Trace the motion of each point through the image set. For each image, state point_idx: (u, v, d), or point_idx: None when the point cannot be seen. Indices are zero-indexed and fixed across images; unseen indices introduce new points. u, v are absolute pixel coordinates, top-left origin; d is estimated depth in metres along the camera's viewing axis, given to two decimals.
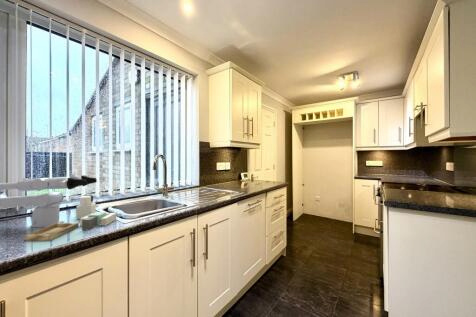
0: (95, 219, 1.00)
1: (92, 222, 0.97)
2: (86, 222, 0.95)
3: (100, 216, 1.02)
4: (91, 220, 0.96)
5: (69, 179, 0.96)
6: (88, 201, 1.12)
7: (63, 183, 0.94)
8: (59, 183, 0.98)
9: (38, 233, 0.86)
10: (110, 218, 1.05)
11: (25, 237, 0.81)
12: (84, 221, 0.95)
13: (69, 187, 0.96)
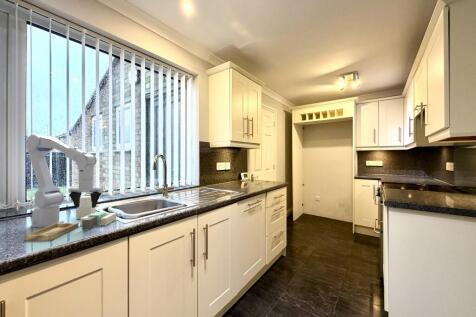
0: (95, 219, 1.00)
1: (92, 222, 0.97)
2: (86, 222, 0.95)
3: (100, 216, 1.02)
4: (91, 220, 0.96)
5: None
6: (88, 201, 1.12)
7: None
8: None
9: (38, 233, 0.86)
10: (110, 218, 1.05)
11: (25, 237, 0.81)
12: (84, 221, 0.95)
13: None
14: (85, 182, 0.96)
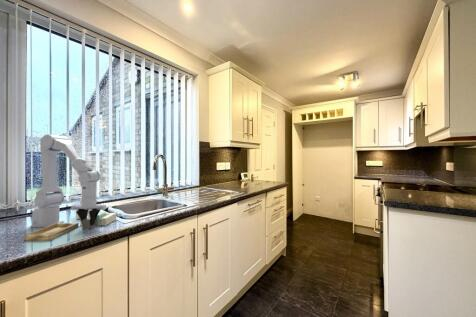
0: None
1: None
2: (86, 222, 0.95)
3: (100, 216, 1.02)
4: None
5: None
6: None
7: None
8: None
9: (38, 233, 0.86)
10: (110, 218, 1.05)
11: (25, 237, 0.81)
12: (84, 221, 0.95)
13: None
14: (88, 199, 0.94)
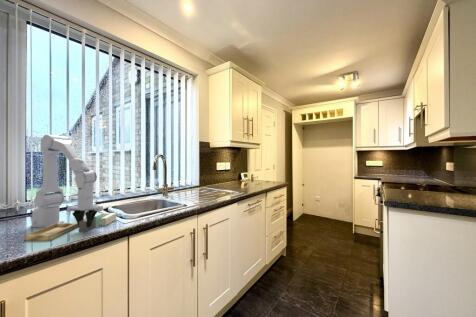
0: None
1: None
2: (83, 223, 0.92)
3: (97, 217, 1.00)
4: None
5: None
6: None
7: None
8: None
9: (38, 233, 0.86)
10: (110, 218, 1.05)
11: (25, 237, 0.81)
12: (81, 222, 0.92)
13: None
14: (84, 200, 0.92)
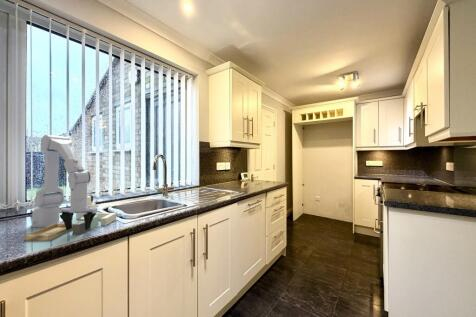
0: None
1: (83, 226, 0.91)
2: (76, 226, 0.88)
3: (92, 220, 0.96)
4: (82, 224, 0.90)
5: None
6: (88, 201, 1.12)
7: None
8: None
9: (38, 233, 0.86)
10: (110, 218, 1.05)
11: (25, 237, 0.81)
12: (74, 226, 0.88)
13: None
14: (78, 202, 0.87)
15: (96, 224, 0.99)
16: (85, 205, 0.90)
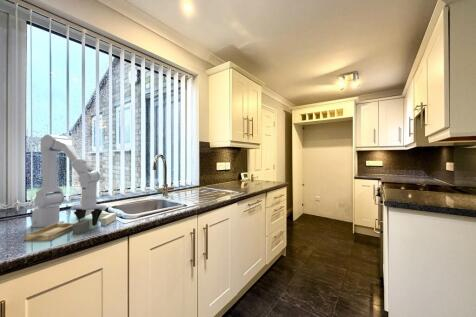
0: (87, 223, 0.93)
1: (83, 226, 0.91)
2: (76, 226, 0.88)
3: None
4: (82, 224, 0.90)
5: None
6: None
7: None
8: None
9: (38, 233, 0.86)
10: (110, 218, 1.05)
11: (25, 237, 0.81)
12: (74, 225, 0.88)
13: None
14: (88, 200, 0.94)
15: None
16: (95, 203, 0.97)
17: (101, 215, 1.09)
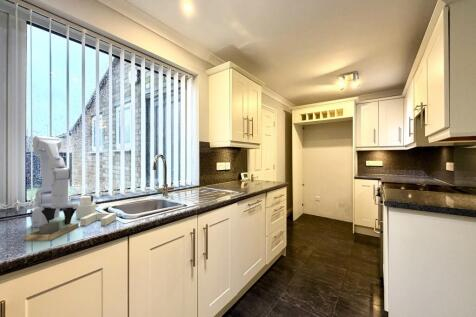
0: (56, 225, 0.89)
1: (52, 228, 0.87)
2: (43, 228, 0.84)
3: (63, 221, 0.91)
4: (50, 226, 0.86)
5: None
6: (88, 201, 1.12)
7: None
8: None
9: (38, 233, 0.86)
10: (110, 218, 1.05)
11: (25, 237, 0.81)
12: (41, 227, 0.84)
13: None
14: (58, 198, 0.90)
15: None
16: (66, 201, 0.93)
17: (101, 215, 1.09)
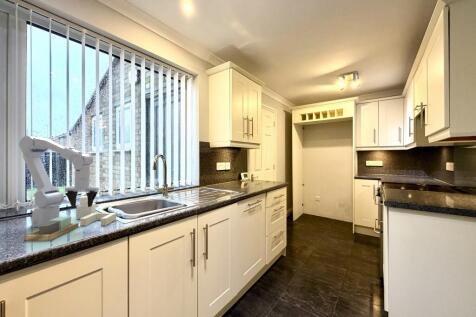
0: (56, 225, 0.89)
1: (52, 228, 0.87)
2: (43, 228, 0.84)
3: (63, 221, 0.91)
4: (50, 226, 0.86)
5: None
6: None
7: None
8: None
9: (38, 233, 0.86)
10: (110, 218, 1.05)
11: (25, 237, 0.81)
12: (41, 227, 0.84)
13: None
14: (81, 181, 0.97)
15: None
16: (88, 185, 1.00)
17: (101, 215, 1.09)
